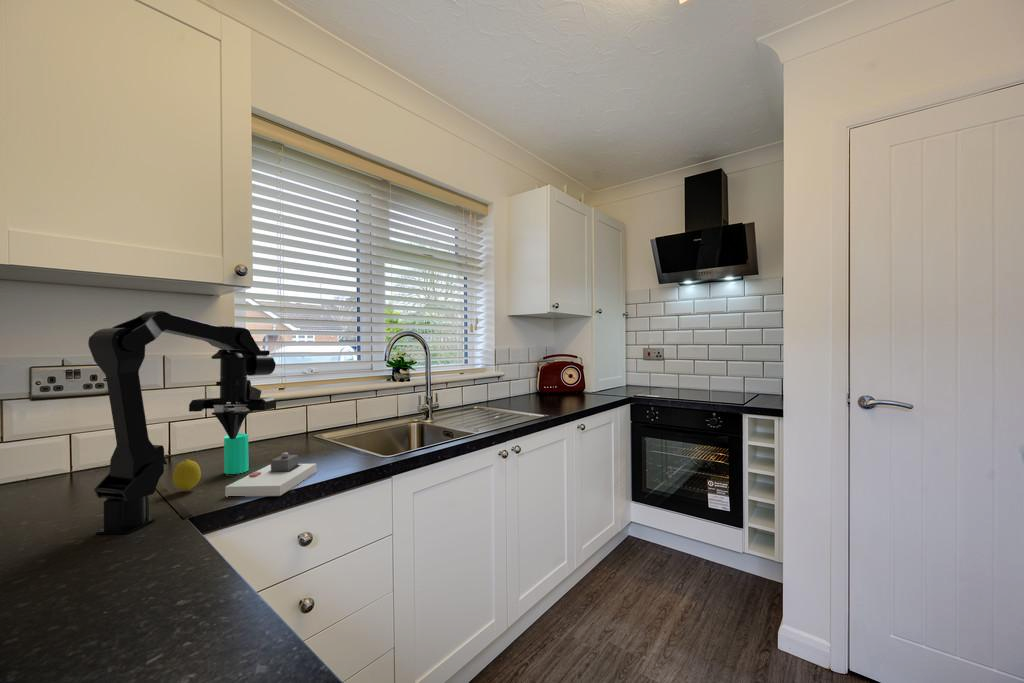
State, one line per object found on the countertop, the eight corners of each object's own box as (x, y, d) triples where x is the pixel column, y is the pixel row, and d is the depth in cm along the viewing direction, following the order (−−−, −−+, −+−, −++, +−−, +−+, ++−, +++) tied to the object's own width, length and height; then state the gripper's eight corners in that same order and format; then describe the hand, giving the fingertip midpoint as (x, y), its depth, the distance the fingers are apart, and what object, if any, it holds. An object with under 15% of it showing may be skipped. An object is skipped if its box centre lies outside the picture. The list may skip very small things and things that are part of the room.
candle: (228, 470, 122) (227, 429, 123) (251, 468, 124) (251, 427, 124) (220, 476, 117) (220, 432, 117) (245, 473, 118) (244, 431, 119)
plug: (288, 479, 112) (287, 455, 112) (271, 479, 112) (270, 455, 112) (298, 472, 117) (298, 450, 117) (282, 473, 117) (282, 450, 117)
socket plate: (280, 495, 100) (280, 483, 100) (225, 496, 100) (225, 484, 100) (316, 472, 119) (316, 461, 119) (270, 472, 119) (270, 462, 119)
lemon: (176, 497, 101) (176, 463, 101) (169, 492, 104) (169, 460, 104) (204, 490, 105) (203, 458, 105) (196, 486, 108) (196, 455, 108)
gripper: (287, 375, 115) (287, 432, 114) (219, 375, 115) (218, 433, 114) (263, 377, 103) (262, 440, 103) (187, 377, 103) (186, 441, 103)
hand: (233, 438), depth 106 cm, fingers closed
